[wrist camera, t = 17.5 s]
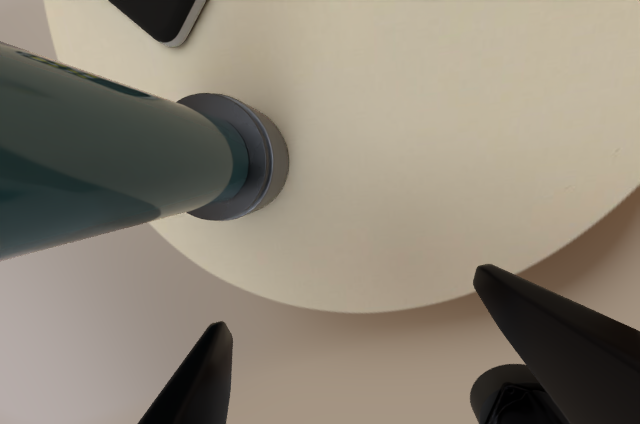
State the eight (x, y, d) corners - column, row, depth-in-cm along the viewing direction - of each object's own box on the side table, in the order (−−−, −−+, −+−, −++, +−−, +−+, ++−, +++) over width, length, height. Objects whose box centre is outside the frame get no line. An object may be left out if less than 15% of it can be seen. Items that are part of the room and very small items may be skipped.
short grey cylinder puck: (279, 222, 21) (258, 236, 17) (188, 199, 22) (146, 207, 18) (297, 116, 19) (279, 102, 15) (196, 97, 21) (152, 78, 16)
